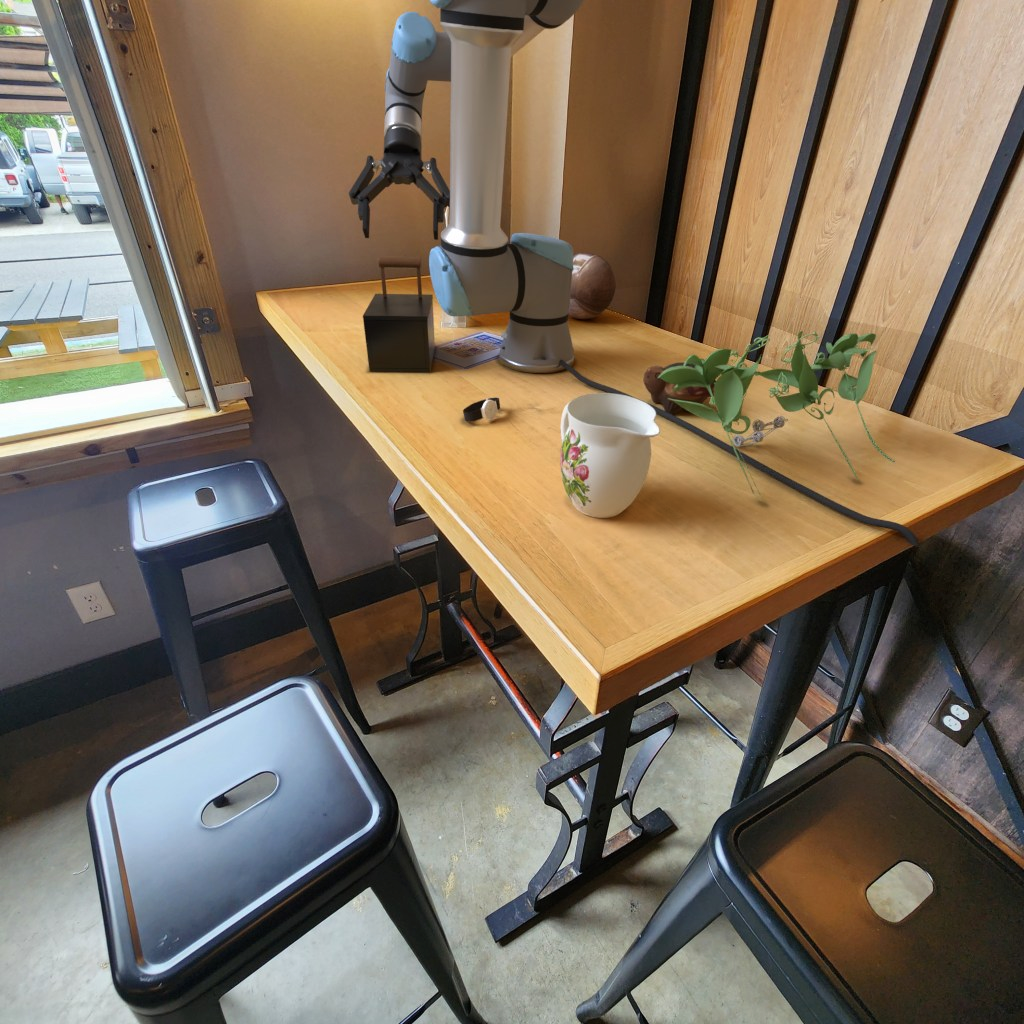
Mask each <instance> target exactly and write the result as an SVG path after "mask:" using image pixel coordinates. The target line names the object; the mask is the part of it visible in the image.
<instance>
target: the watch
mask: <svg viewBox="0 0 1024 1024" xmlns="http://www.w3.org/2000/svg"><path fill="white" fill-rule="evenodd" d="M500 403H501V402H500V398H499V397H489V398H488V397H487V398H485V399H481V400H479V401H476V402H473V403H472V404H469V405H468V406H466V407H465V408H464V409H462V413H463V418H464V421H465V422H468V423H472V422H476V421H480V420H482V419H484V420H487V421H491V420H494V419H495V418H496V416H497V413H498V411H499V410H500V409H501V404H500Z"/></svg>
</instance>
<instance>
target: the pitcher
mask: <svg viewBox="0 0 1024 1024" xmlns="http://www.w3.org/2000/svg"><path fill="white" fill-rule="evenodd" d="M630 396H631V395H630ZM630 396H626V395H620V394H613V393H609V392H594V393H593V392H592V393H588V394H581V395H579V396H577V397H575V398H572V399H571V401H569V402H568V403H566V405H565V406H564V407H563V410H562V412H561V413H562V414H561V418H560V439H561V448H560V457H559V466H560V476H561V481H562V484H563V487H564V490H565V493H566V495H567V497H568V499H569V501H570V502H571V503H572V504H573V506H574V508H575V509H576V510H577V511H578V512H580V513H581V514H583V515H585V516H588V517H592V518H598V519H607V518H613V517H616V516H618V515H619V514H621V513H623V511H625V510H626V509H627V508H629V507H630V506H631V505H632V503H633V502H634V501H635V499H636V498H637V497H638V496H639V494H640V491H642V488H643V486H644V484H645V481H646V479H647V477H648V474H649V470H650V466H651V458H652V444H651V443H652V442H651V438H654V437H656V436H659V434H660V433H661V430H660V427H659V425H658V424H657V422H656V421H655V420H656V418H657V413H656V411H655V409H654V408H653V407H651V406H650V405H648V404H647V403H648V402H646V401H644V400H642V401H641V399H640V400H639V398H637V397H635V398H633V397H634V396H633V397H630ZM636 398H637V399H636ZM643 401H644V402H643ZM645 402H646V403H645Z"/></svg>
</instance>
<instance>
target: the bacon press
mask: <svg viewBox="0 0 1024 1024" xmlns="http://www.w3.org/2000/svg"><path fill="white" fill-rule="evenodd" d="M377 263H378V264H377V265H378V267H379V271H380V279H381V280H380V281H381V290H382V293H374V295H373V297H372V299H371V300H370V302H369V304H368V305H367V308H366V309H365V311H364V313H363V314H362V320H404V321H427V320H428V316H429V312H430V308H431V304H432V300H433V299H434V295H433V294H426V293H425V294H424V293H423V287H422V273H421V272H422V271H421V269H422V258H421V257H420V256H380V255H379V256H378V258H377ZM385 269H416V281H417V283H416V284H417V294H416V293H415V294H413V293H388V291H387V282H386V270H385Z"/></svg>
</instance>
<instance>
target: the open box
mask: <svg viewBox="0 0 1024 1024" xmlns="http://www.w3.org/2000/svg"><path fill="white" fill-rule="evenodd" d="M362 320H363V319H362ZM362 322H363V329H364V338H365V345H366V346H365V347H366V355H367V363H368V371H369V373H431V371H432V365H433V359H434V354H435V349H436V341H435V320H434V301H433V300H432V304H431V308H430V312H429V316H428V320H427V321H404V320H363V321H362Z"/></svg>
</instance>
